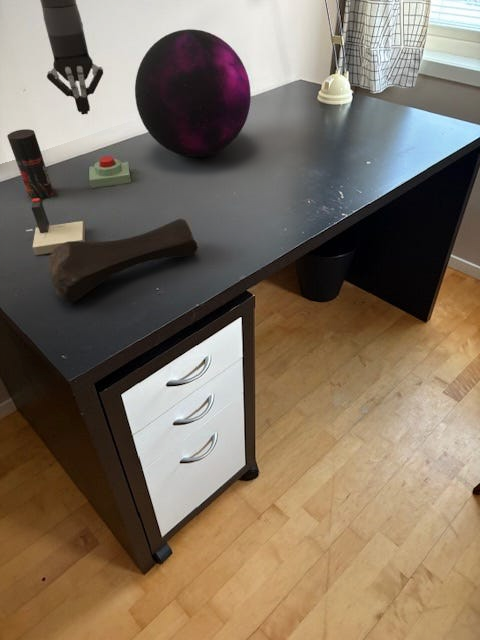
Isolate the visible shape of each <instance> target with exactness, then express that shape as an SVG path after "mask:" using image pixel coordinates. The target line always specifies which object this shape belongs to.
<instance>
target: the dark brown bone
mask: <svg viewBox="0 0 480 640" xmlns="http://www.w3.org/2000/svg"><path fill="white" fill-rule="evenodd" d="M198 248H199V247H198V243H197V241H196V240H195V238H194V235H193V232H192V231H191V229H190V226H189V223H188V222H187V220H186V219H185V218H177V219H175V220H173V221H170V222H168V223H167V224H164V225H162V226H160V227H157V228H155V229H153V230H150V231H148V232H144V233H142V234H138V235H135V236H131V237H126V238H122V239H121V238H120V239H114V240H106V241H105V240H104V241H85V242H77V241H69V242H65V243H63V244H61V245H60V246H58V247H57V248H56V249H55V250H54V251H53V252H52V253H50V256H49V261H48V273H49V275H50V279H51V282H52V285H53V287H54V292H55V294H56V296H57V298H58V299H61V300H63V301H65V302H68V303H75V302H76V301H77V300H79V299H80V298H82V297H83V296H85V295H86V294H87V293H88V292H90V291H92V290H93V289H94V288H95V287H97V286H98V285H99V284H100V283H102V282H104V281H105V280H108V279H109V278H111V277H112V276H114V275H116V274H118V273H120V272H122V271H124V270H127V269H129V268H131V267H134V266H136V265H137V266H138V265H141V264H143V263H148V262H151V261H155V260H162V259H169V258H179V257H181V258H182V257H190V256H192V255H194V254H196V253H197V251H198Z"/></svg>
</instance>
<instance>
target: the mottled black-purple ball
mask: <svg viewBox="0 0 480 640" xmlns="http://www.w3.org/2000/svg"><path fill="white" fill-rule="evenodd" d="M135 76H136V77H135V85H134V97H135V98H134V99H135V104H136V109H137V112H138V115H139V117H140V120H141V122H142V124H143V125H144V127H145V129H146V131H147V132H148V133H149V135H150V136H151V137H152V139H154V140H155V141H156V142H157V143H158V144H159V145H161V146H162V147H163V148H165V149H166V150H168V151H170V152H172V153H175V154H177V155H180V156H184V157H191V158H198V157H199V158H201V157H206V156H211V155H214V154H217V153H218V152H221V151H222V150H224V149H225V148H226V147H228V146H229V145H230V144H232V142H234V141H235V139H236V138H237V137H238V136H239V135H240V133H241V132H242V131H243V128H244V127H245V124H246V122H247V119H248V116H249V113H250V107H251V98H252V97H251V96H252V92H251V84H250V83H251V82H250V79H249V75H248V72H247V69H246V67H245V65H244V63H243V60H242V59H241V57H240V56H239V54H238V53H237V52H236V51H235V49H233V48H232V46H231V45H230V44H228V42H226V41H225V40H223V38H221V37H220V36H218V35H215V34H213V33H211V32H208V31H204V30H201V29H193V28H191V29H190V28H188V29H180V30H176V31H173V32H170V33H168V34H166V35H164V36H163V37H161V38H160V39H158V40H157V41H156V42H154V43H153V45H152V46H150V48H149V49H148V50H147V51H146V53H145V55H144V56H143V57H142V60H141V62H140V64H139V66H138V69H137V73H136V75H135Z"/></svg>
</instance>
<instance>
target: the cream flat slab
mask: <svg viewBox="0 0 480 640" xmlns="http://www.w3.org/2000/svg"><path fill="white" fill-rule="evenodd" d="M33 231H34V229H31V228H30V229H26V230H25V232H26V233H27V232H33ZM69 241H77V242H86V226H85V223H84V220H80V221H73V222H66V223H59V224H51V225H49V229H48V232H44V233H40V230H39V228H38V227H35V231H34V237H33V243H32V250H33V253H34V255H35V256H41V255H46V254H47V255H48V254H52V252H53V251H54V250H55V249H56V248H57V247H58V246H60V245H61V244H63V243H65V242H69Z"/></svg>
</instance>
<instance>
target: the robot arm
mask: <svg viewBox="0 0 480 640" xmlns="http://www.w3.org/2000/svg"><path fill="white" fill-rule="evenodd" d="M39 1H40V4H41V10H42V16H43V17H42V18H43V21H44V26H45V29H46V33H47V38H48V40H49V45H50V48H51V52H52V56H53V65H52V66H53V67H52V69H51V70H49V71H48V72H47V74H46V78H47V80H48V81H49V82H50V83H52V85H54V86H55V87H56V88H57V89H58V90H60V92H61V93H62V94H64V95H65V96H66V97H71V98H73V99H74V101H75V105H76V109H77V111H78V113H80V114H81V115H88V114H89V112H90V110H91V106H90V102H89V96H90V95H94V93H95V91H96V89H97V87H98V86H99V83H100V81H101V79H102V78H103V75H104V68H103V67H102V66H98V65H96V64H95V63H94V62H93V59H92V57H91V56H90V53H89V50H88V45H87V41H86V35H85V31H84V24H83V20H82V16H81V14H80V10H79V8H78V7H79V6H78V5H77V0H39ZM91 71H92V73H91V74H92V75H93V76H92V77H93V78H92V79H91V81H90V83H89V85H88V86H87V85H86V80H87V79H88V77H89V75H90V72H91ZM60 77H62V78H63V79H64V80H65V81H67V82H68V83H69V85H70V87H69V86H68V85H67V84H66V83H65V82H64V81H63V80H61V79H60ZM77 82H78V83H79V86H78V83H77ZM79 88H80V89H79Z"/></svg>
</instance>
